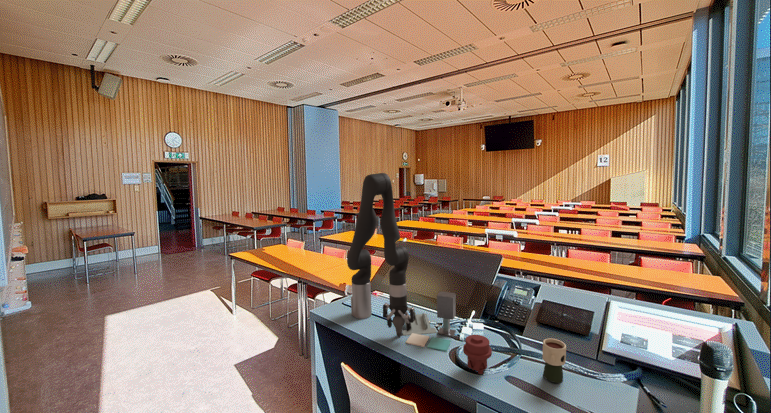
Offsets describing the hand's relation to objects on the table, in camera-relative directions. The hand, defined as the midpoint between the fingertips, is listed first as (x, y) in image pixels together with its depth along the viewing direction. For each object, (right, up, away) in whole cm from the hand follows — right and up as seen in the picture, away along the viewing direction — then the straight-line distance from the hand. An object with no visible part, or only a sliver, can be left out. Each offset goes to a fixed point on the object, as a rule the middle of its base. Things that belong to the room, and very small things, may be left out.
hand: (399, 328), depth 147 cm
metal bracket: (+9, -3, +8) cm, 13 cm away
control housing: (+21, -3, +2) cm, 21 cm away
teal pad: (+17, -4, -7) cm, 18 cm away
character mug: (+52, -7, -30) cm, 60 cm away
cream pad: (+8, -4, -3) cm, 9 cm away
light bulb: (0, -4, +1) cm, 4 cm away
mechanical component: (+28, -6, -23) cm, 37 cm away
